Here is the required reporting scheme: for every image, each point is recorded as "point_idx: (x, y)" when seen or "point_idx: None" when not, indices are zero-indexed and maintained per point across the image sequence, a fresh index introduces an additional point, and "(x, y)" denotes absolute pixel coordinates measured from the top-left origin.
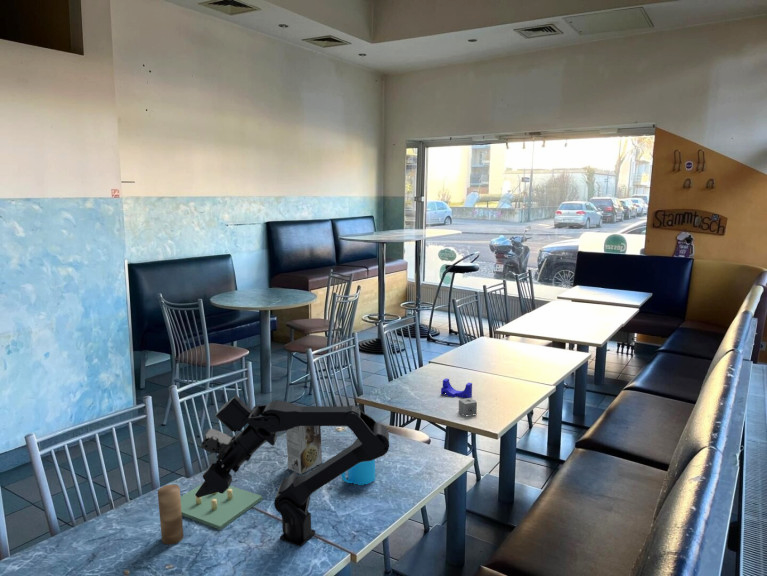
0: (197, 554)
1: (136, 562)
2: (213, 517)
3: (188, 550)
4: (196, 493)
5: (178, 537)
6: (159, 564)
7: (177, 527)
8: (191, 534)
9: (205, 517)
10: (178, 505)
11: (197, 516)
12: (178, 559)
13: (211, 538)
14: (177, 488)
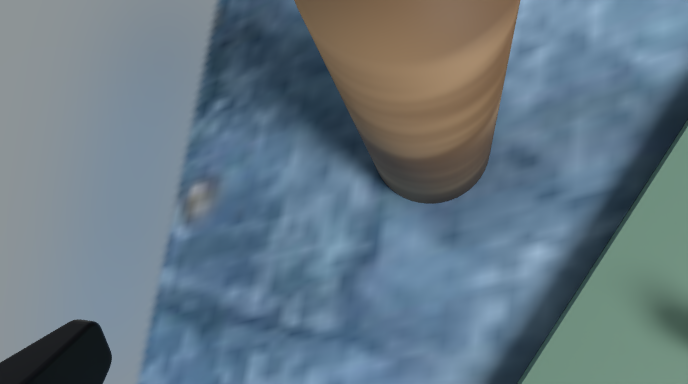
0: (264, 321)
1: (254, 39)
2: (610, 362)
3: (307, 263)
4: (38, 342)
5: (390, 183)
6: (220, 147)
7: (381, 163)
8: (458, 244)
9: (613, 303)
10: (380, 121)
11: (629, 243)
12: (241, 229)
13: (403, 378)
14: (420, 35)
